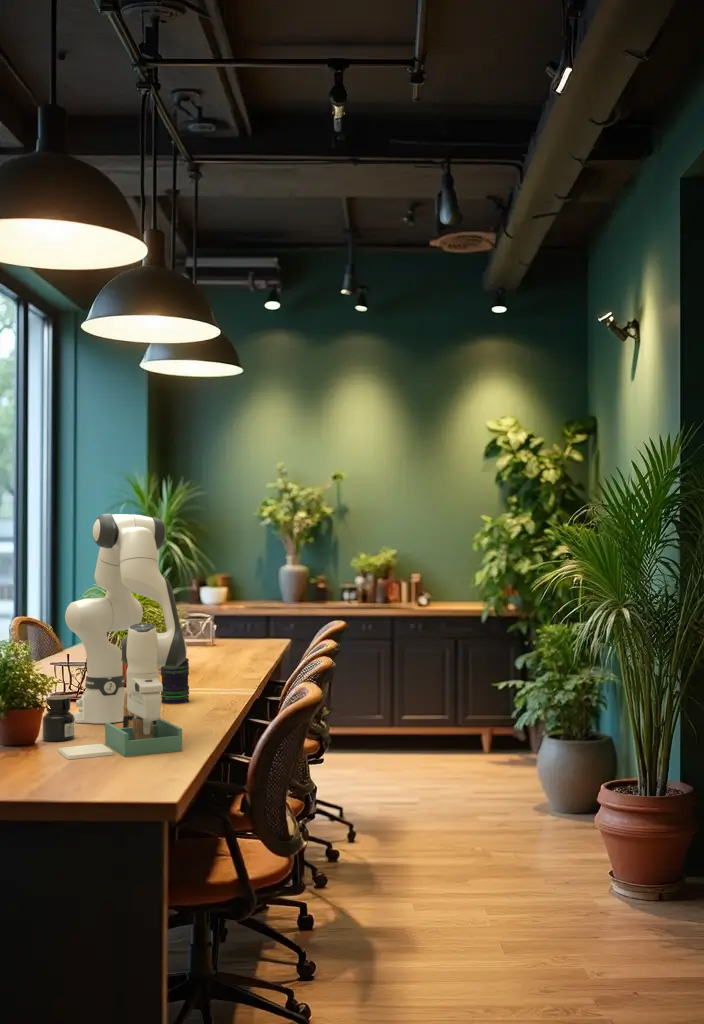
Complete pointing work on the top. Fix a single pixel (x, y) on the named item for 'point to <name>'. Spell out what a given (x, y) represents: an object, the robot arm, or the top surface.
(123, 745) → the box
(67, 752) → the board
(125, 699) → the ammunition clip
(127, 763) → the top surface
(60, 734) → the ink bottle
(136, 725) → the walnut block
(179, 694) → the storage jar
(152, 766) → the top surface
